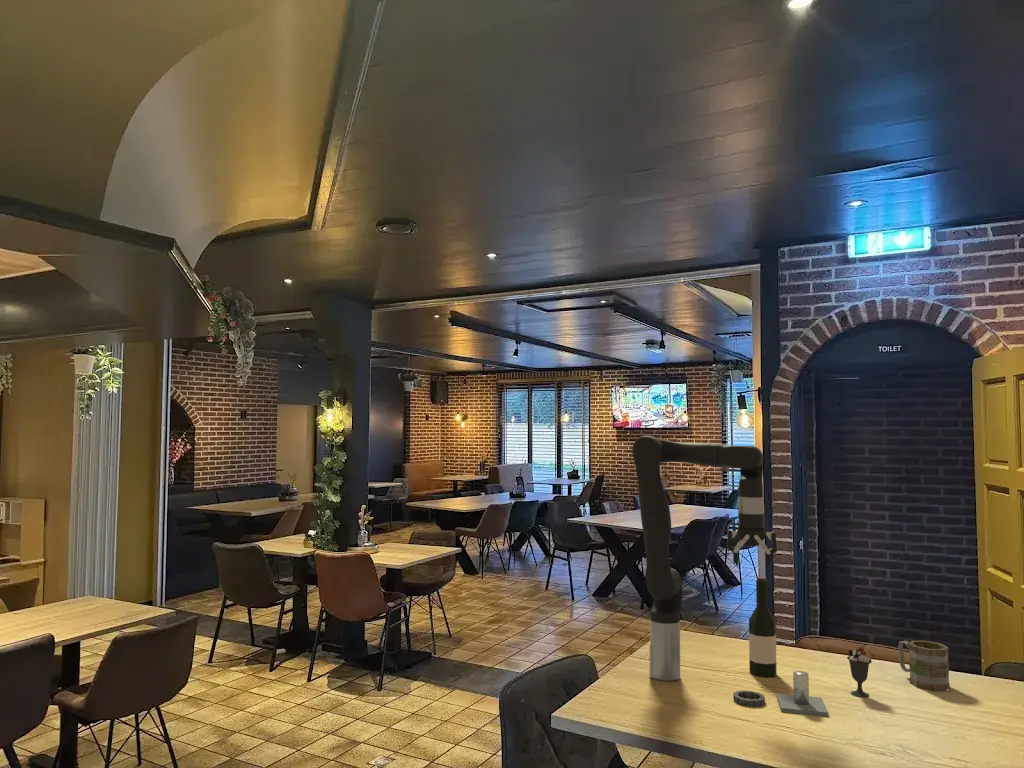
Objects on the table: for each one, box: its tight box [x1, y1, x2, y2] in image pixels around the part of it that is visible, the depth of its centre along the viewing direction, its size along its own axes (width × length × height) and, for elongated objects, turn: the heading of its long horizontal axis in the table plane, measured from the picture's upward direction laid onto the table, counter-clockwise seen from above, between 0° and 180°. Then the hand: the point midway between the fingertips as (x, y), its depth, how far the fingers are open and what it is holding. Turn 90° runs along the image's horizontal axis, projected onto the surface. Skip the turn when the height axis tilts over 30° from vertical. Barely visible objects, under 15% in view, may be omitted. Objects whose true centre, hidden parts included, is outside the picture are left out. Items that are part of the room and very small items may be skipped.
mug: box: [897, 640, 951, 692], centre depth 222 cm, size 16×11×12 cm
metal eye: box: [732, 689, 766, 708], centre depth 204 cm, size 8×8×2 cm
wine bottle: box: [748, 576, 778, 679], centre depth 230 cm, size 8×8×30 cm
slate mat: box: [776, 692, 829, 717], centre depth 200 cm, size 12×12×1 cm
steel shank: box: [792, 670, 810, 705], centre depth 201 cm, size 4×4×8 cm
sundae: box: [846, 643, 872, 698], centre depth 211 cm, size 7×7×15 cm
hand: (751, 565), depth 217 cm, fingers open, 8 cm apart
